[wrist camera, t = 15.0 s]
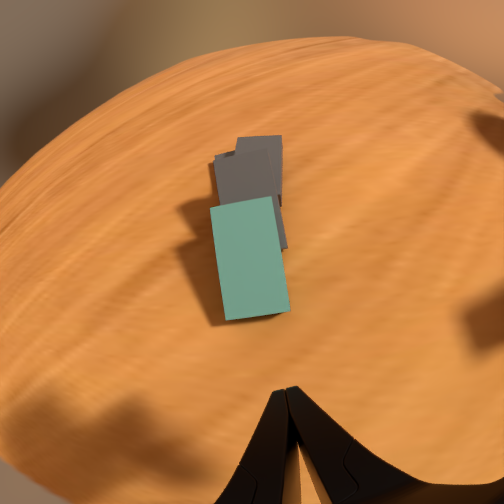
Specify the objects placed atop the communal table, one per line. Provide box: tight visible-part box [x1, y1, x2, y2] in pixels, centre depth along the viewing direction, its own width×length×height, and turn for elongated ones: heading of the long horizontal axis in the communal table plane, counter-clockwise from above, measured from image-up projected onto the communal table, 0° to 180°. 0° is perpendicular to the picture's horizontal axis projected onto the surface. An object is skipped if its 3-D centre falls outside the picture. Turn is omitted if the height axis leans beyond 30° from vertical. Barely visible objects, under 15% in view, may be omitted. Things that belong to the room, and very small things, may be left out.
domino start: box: [210, 196, 290, 320], centre depth 23 cm, size 2×5×9 cm
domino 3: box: [234, 135, 283, 207], centre depth 29 cm, size 2×5×9 cm
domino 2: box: [213, 148, 288, 250], centre depth 25 cm, size 2×5×9 cm
